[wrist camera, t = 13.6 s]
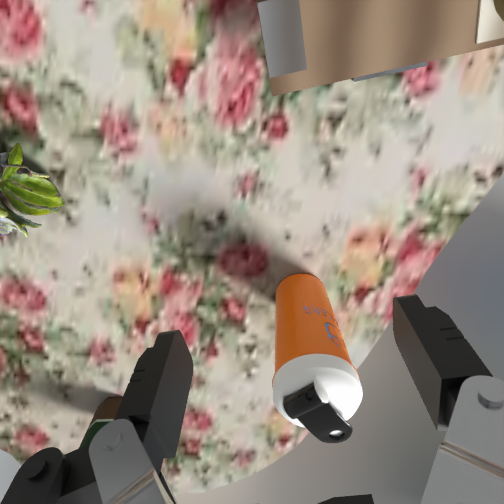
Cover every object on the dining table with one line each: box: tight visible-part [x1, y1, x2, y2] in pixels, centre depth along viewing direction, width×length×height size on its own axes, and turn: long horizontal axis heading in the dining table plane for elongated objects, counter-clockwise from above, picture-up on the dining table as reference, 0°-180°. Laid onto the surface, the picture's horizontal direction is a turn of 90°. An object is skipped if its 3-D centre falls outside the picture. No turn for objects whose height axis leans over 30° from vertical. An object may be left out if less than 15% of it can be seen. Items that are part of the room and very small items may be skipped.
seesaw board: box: [256, 0, 504, 96], centre depth 26 cm, size 24×8×3 cm, turn 102°
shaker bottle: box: [272, 274, 363, 443], centre depth 40 cm, size 9×9×20 cm
